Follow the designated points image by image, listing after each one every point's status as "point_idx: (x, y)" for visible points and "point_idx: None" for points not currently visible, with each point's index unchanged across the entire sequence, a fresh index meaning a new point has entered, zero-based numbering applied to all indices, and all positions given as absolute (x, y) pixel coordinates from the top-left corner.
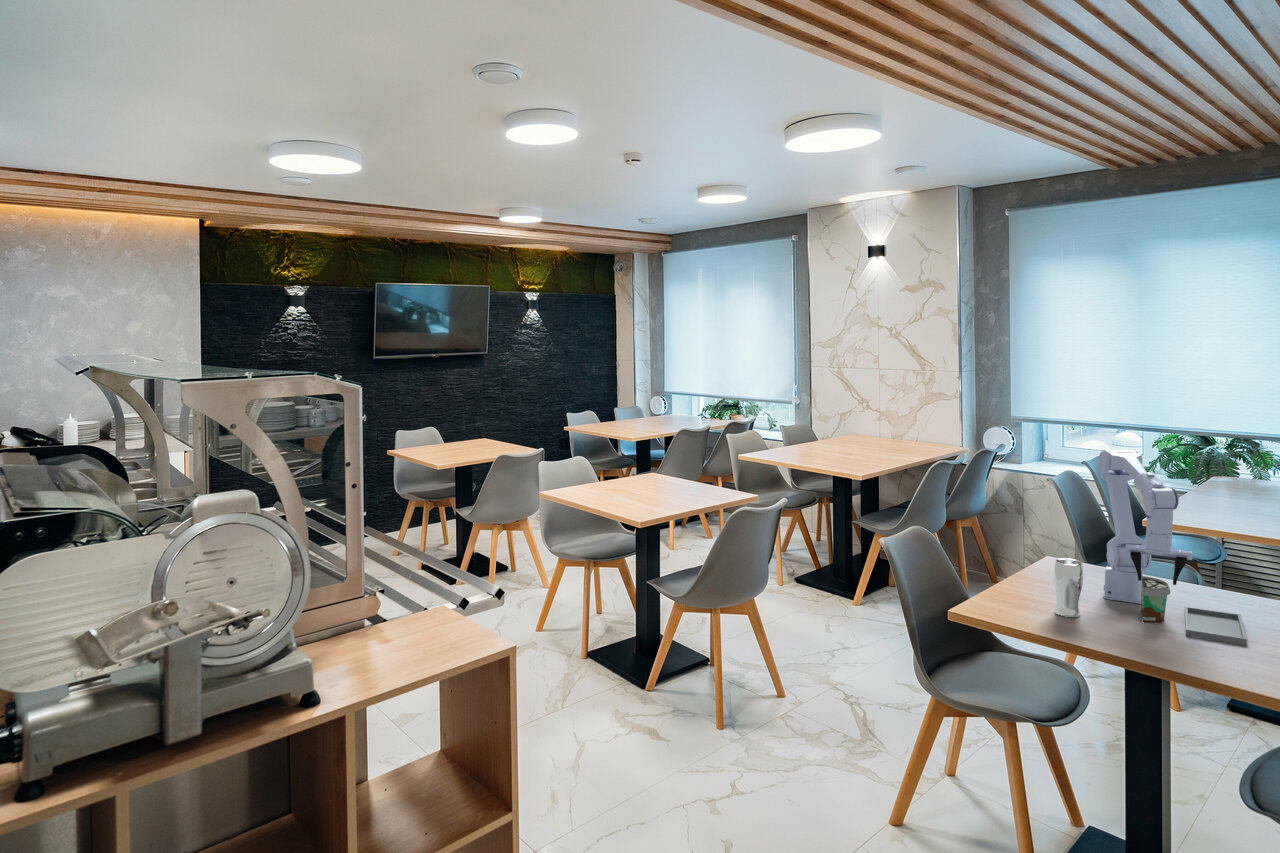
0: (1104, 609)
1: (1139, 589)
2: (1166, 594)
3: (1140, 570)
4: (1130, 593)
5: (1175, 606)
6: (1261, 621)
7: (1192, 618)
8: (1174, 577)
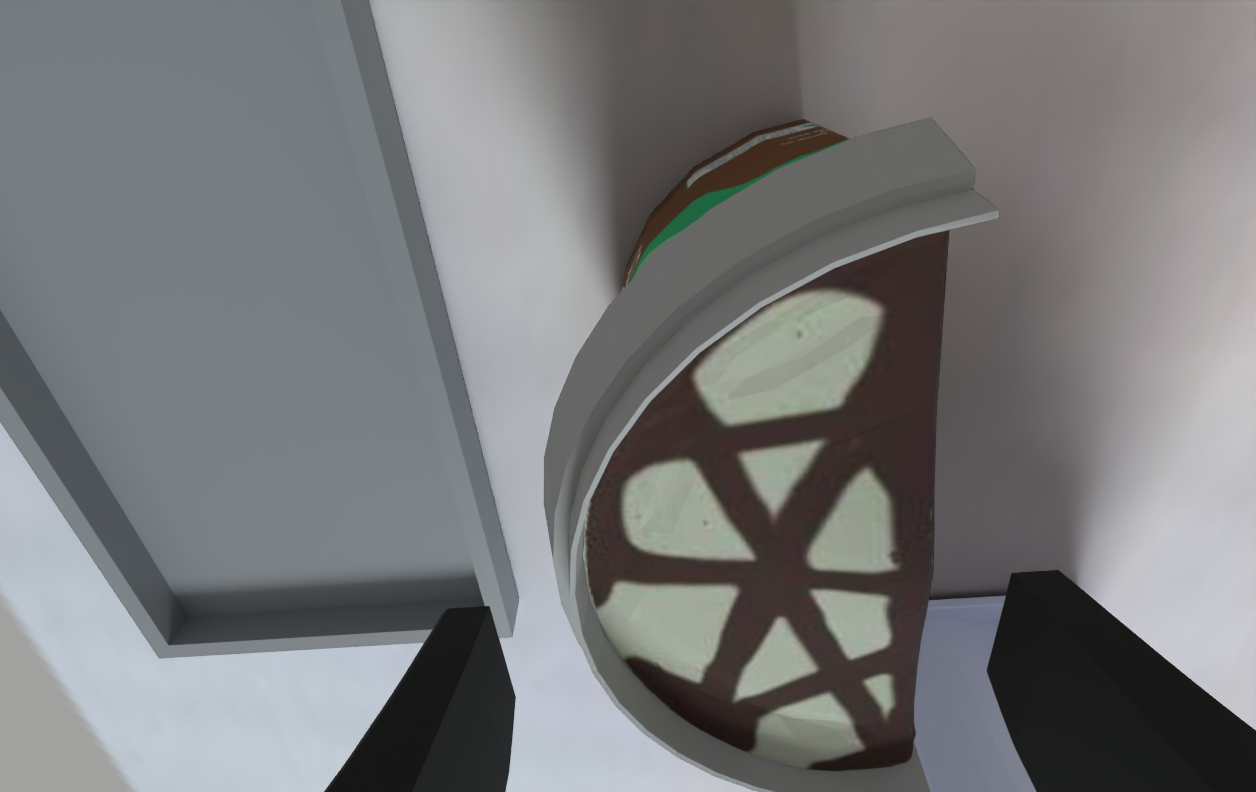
0: (1135, 333)
1: None
2: (572, 373)
3: (1196, 761)
4: None
5: (591, 673)
6: (90, 661)
7: (427, 472)
8: (422, 731)
